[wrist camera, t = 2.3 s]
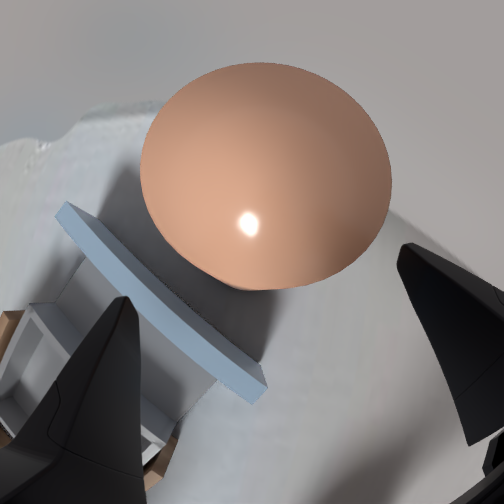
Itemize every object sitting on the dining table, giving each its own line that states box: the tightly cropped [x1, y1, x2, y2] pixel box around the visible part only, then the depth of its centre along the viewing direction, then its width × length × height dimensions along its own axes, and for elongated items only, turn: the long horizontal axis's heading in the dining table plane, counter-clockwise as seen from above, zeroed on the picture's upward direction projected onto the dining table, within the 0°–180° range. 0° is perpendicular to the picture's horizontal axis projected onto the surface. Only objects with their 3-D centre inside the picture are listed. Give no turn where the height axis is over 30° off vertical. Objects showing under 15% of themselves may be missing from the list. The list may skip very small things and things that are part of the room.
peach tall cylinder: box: [140, 63, 392, 291], centre depth 12 cm, size 6×6×13 cm
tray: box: [0, 201, 268, 465], centre depth 14 cm, size 15×18×4 cm
